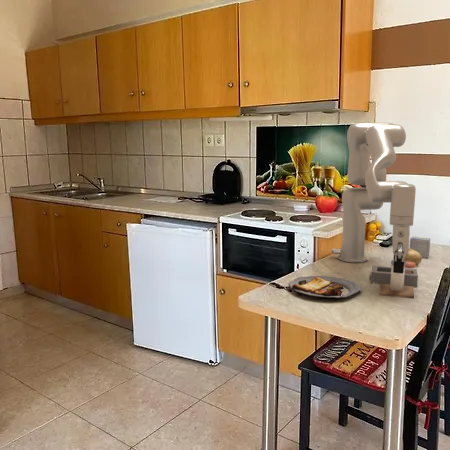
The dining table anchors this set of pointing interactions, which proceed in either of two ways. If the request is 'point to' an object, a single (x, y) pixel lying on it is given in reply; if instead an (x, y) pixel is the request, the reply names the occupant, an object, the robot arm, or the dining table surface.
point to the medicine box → (420, 245)
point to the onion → (413, 256)
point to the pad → (386, 290)
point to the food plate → (324, 286)
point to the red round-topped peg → (409, 266)
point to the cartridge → (397, 279)
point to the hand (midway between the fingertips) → (398, 269)
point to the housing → (384, 276)
